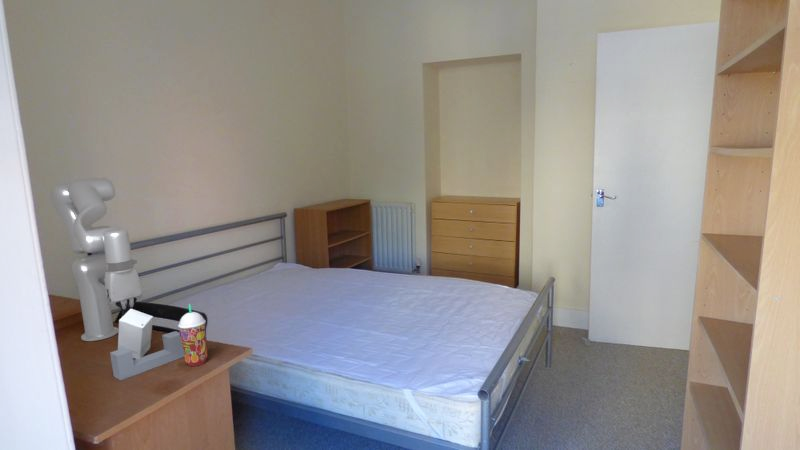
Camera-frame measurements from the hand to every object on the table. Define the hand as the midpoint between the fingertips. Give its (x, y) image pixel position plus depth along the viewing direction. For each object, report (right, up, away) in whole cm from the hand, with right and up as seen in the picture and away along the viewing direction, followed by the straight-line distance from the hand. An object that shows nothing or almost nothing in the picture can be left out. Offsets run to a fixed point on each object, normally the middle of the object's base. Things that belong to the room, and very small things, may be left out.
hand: (128, 318), depth 171 cm
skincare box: (+1, -11, +2) cm, 12 cm away
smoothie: (+25, -14, -5) cm, 29 cm away
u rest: (+10, -14, -6) cm, 19 cm away
